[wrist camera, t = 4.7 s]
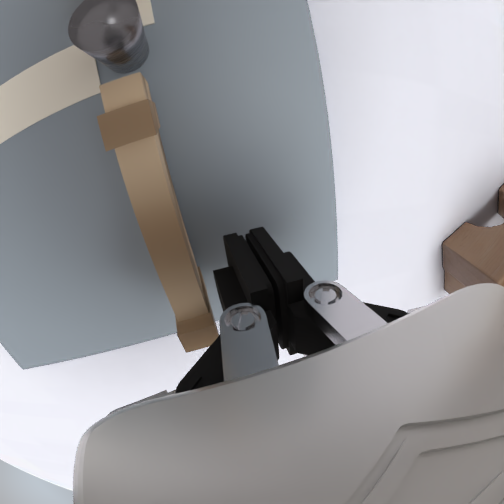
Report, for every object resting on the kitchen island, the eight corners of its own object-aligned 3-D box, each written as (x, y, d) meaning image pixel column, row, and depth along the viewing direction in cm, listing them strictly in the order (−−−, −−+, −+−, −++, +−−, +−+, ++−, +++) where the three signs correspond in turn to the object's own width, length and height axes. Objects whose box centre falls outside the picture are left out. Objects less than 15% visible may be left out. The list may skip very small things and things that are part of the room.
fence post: (105, 45, 8) (65, 5, 4) (146, 31, 9) (133, -20, 4) (112, 81, 9) (72, 62, 5) (153, 67, 10) (143, 36, 5)
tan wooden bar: (116, 93, 9) (89, 85, 5) (150, 81, 9) (141, 67, 6) (180, 298, 14) (190, 360, 11) (207, 290, 14) (224, 350, 11)
